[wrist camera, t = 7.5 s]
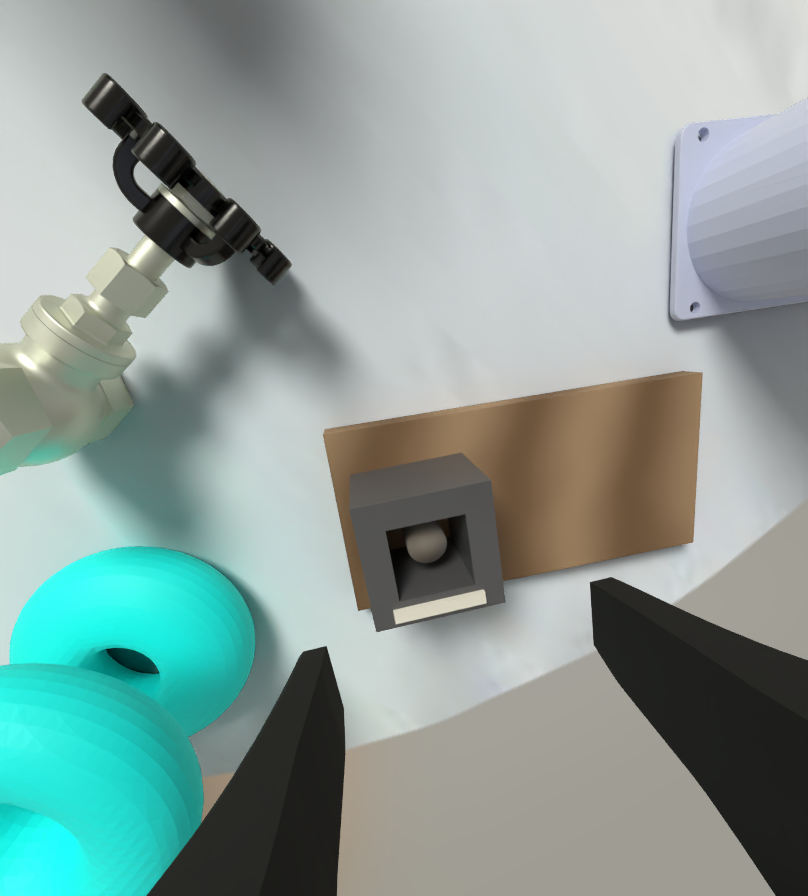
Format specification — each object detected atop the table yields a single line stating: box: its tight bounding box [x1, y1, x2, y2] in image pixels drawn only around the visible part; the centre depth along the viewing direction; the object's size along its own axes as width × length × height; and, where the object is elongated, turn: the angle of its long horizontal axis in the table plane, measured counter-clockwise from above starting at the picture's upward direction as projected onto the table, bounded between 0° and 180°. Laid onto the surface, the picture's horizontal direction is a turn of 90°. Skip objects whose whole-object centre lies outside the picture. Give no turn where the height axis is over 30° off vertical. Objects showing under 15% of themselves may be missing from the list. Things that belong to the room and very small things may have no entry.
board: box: [323, 371, 702, 611], centre depth 18 cm, size 18×9×4 cm, turn 98°
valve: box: [0, 73, 292, 475], centre depth 13 cm, size 7×7×12 cm
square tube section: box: [349, 453, 505, 632], centre depth 17 cm, size 5×5×4 cm
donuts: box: [0, 546, 255, 896], centre depth 15 cm, size 10×10×10 cm
